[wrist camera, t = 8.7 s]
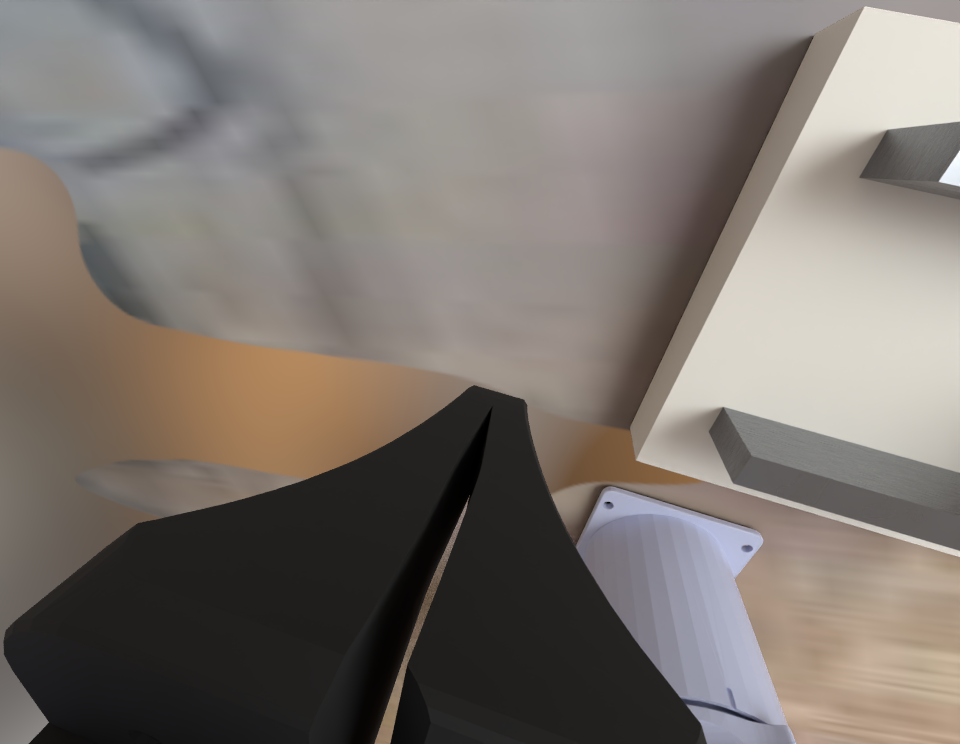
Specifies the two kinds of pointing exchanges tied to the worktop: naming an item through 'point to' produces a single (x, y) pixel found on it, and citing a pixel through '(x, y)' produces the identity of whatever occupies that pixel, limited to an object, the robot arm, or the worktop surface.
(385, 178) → the worktop surface
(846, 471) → the channel walls
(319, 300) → the worktop surface
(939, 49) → the channel board
